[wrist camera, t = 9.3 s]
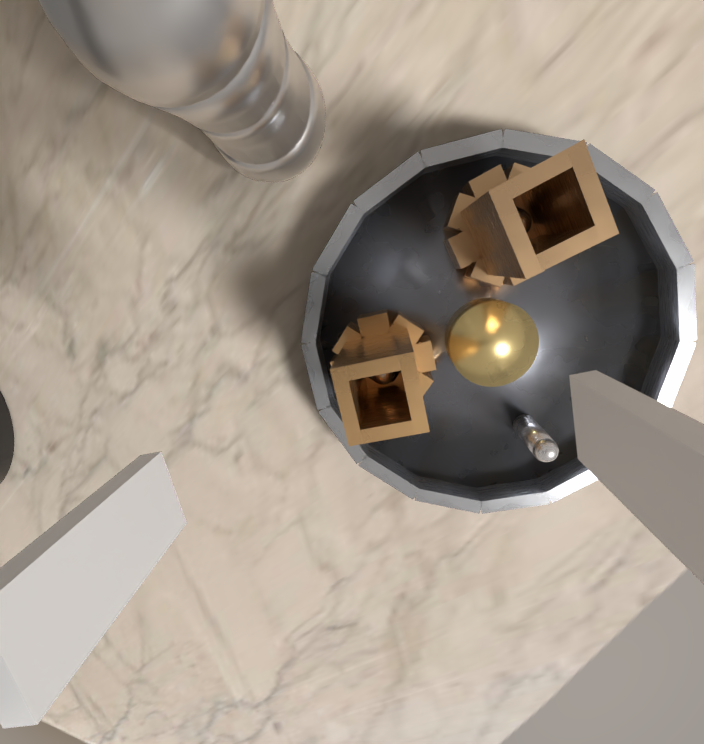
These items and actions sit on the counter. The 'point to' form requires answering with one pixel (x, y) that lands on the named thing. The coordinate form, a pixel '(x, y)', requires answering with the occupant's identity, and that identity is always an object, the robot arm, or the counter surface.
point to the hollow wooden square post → (379, 356)
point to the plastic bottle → (206, 73)
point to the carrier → (501, 326)
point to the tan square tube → (548, 213)
